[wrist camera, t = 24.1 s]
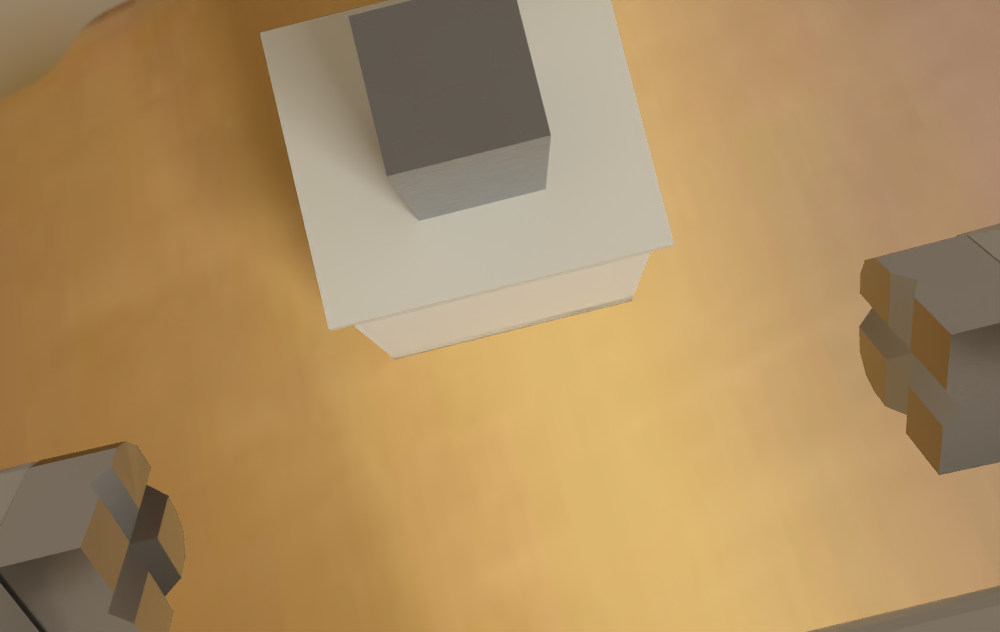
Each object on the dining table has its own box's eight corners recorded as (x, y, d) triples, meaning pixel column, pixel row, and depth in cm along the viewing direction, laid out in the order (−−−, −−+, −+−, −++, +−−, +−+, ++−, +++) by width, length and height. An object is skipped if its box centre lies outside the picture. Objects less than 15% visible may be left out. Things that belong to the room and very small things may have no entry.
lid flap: (595, -44, 36) (597, -53, 35) (670, 247, 35) (674, 244, 34) (265, 40, 36) (259, 32, 35) (333, 330, 35) (328, 329, 34)
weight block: (514, 65, 35) (510, -26, 27) (545, 189, 34) (551, 134, 26) (389, 97, 35) (348, 16, 27) (419, 220, 34) (386, 176, 26)
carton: (571, 78, 46) (574, -19, 38) (632, 300, 44) (651, 252, 35) (345, 134, 47) (295, 51, 38) (393, 359, 44) (353, 326, 35)
